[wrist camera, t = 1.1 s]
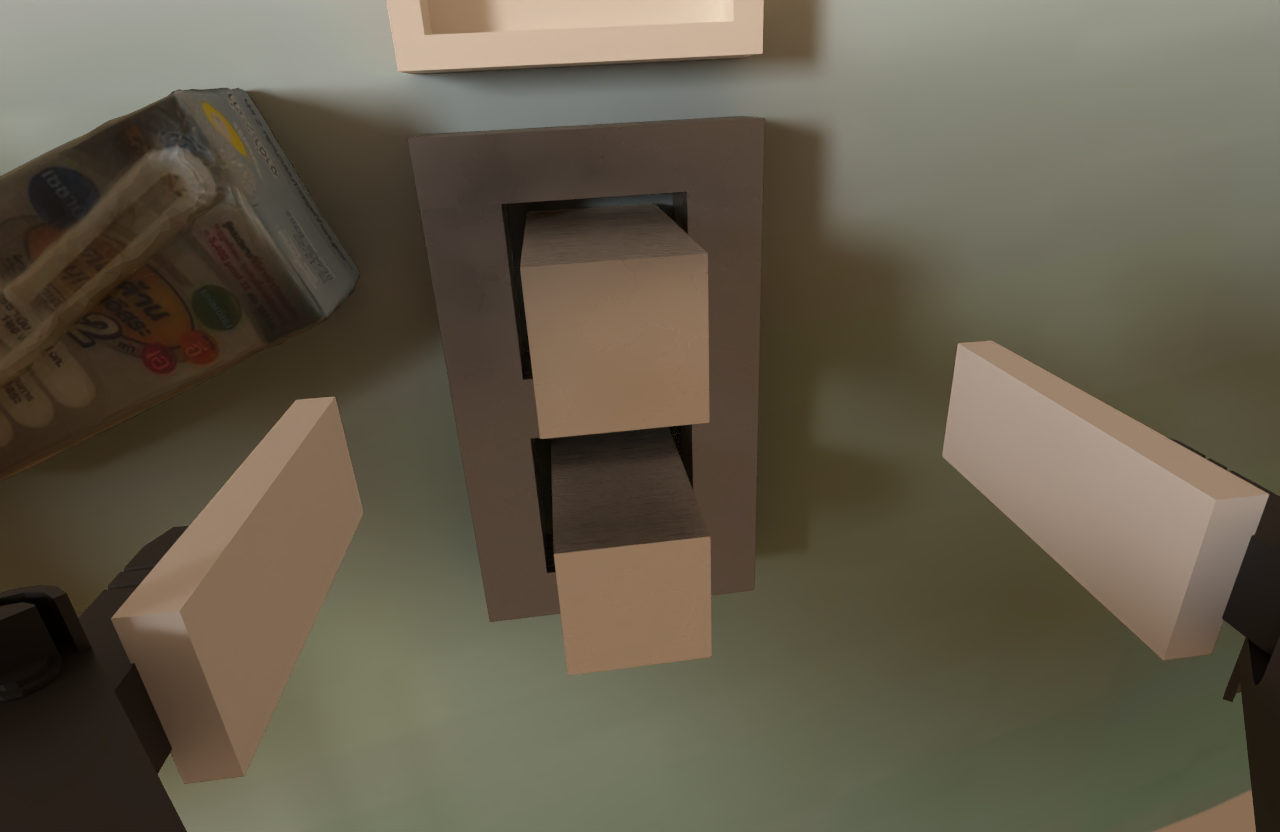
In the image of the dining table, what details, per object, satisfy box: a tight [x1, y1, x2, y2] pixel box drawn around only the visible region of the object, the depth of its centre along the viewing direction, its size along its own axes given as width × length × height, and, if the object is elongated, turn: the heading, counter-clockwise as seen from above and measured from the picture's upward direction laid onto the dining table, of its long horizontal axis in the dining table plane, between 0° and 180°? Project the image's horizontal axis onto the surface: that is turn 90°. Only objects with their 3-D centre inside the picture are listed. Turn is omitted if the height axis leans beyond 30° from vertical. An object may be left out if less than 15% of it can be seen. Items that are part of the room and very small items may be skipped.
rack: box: [408, 116, 765, 622], centre depth 29 cm, size 12×20×3 cm, turn 3°
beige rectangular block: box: [551, 427, 712, 675], centre depth 28 cm, size 5×5×10 cm
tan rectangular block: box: [520, 203, 709, 439], centre depth 24 cm, size 5×5×10 cm
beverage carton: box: [0, 88, 360, 481], centre depth 24 cm, size 8×19×7 cm, turn 114°
